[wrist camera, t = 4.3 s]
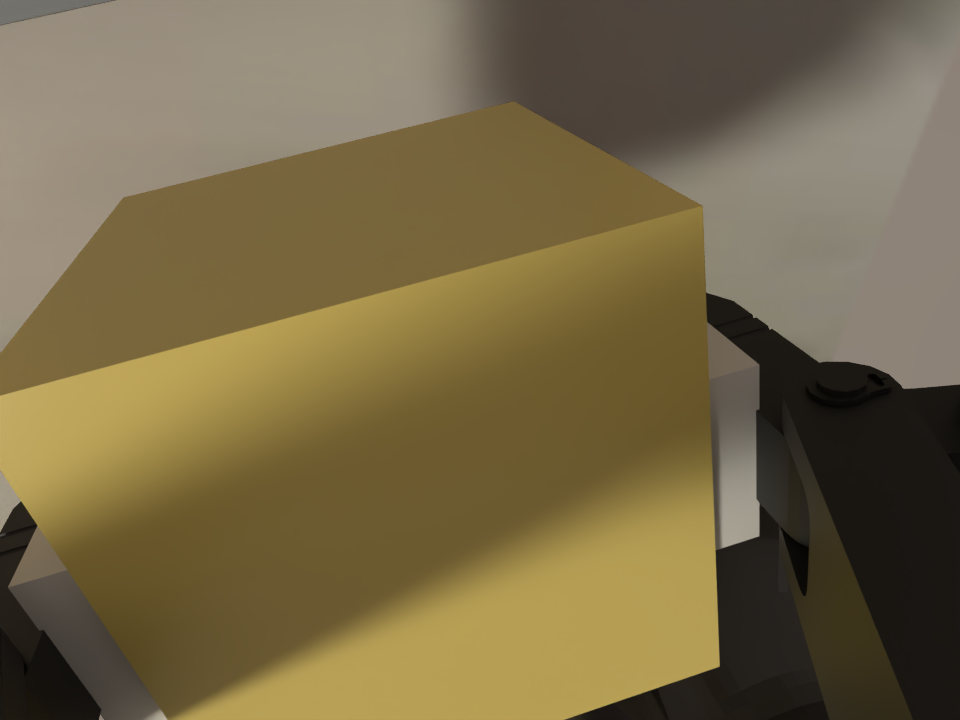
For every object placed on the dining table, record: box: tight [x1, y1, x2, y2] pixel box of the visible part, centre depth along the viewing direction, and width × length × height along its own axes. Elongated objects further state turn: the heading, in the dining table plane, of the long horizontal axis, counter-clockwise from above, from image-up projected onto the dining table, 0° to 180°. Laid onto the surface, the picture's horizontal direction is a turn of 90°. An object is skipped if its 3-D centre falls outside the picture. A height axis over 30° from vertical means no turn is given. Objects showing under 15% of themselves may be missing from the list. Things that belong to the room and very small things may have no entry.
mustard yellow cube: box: [0, 101, 720, 720], centre depth 11 cm, size 7×7×7 cm
